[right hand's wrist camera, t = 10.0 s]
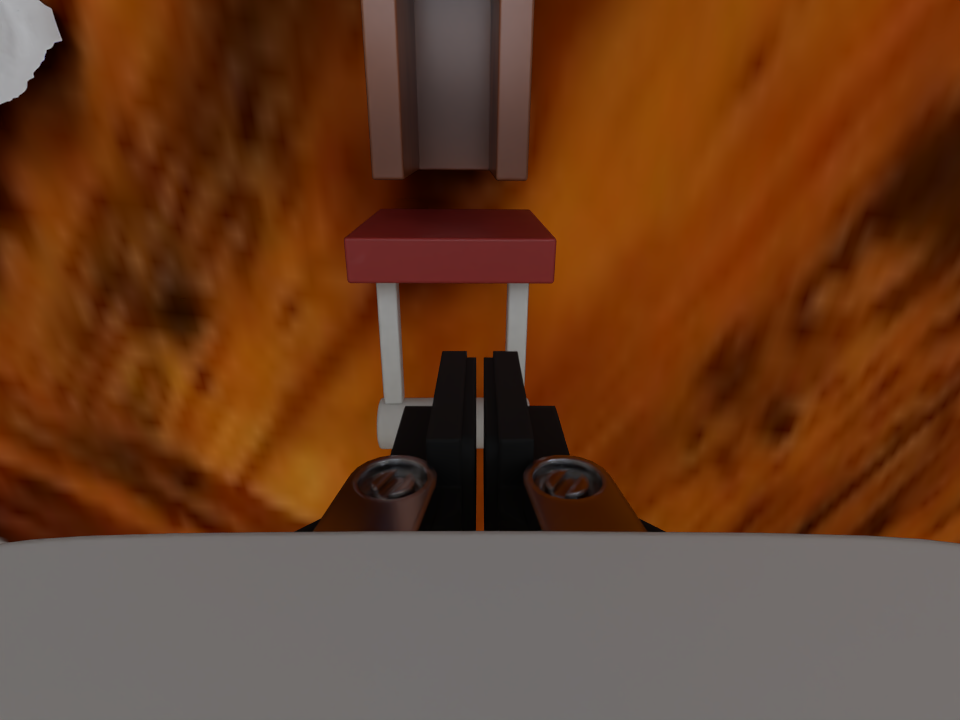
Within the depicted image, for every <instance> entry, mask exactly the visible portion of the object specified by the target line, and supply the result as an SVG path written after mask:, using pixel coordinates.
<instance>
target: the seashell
mask: <svg viewBox="0 0 960 720" xmlns="http://www.w3.org/2000/svg"><path fill="white" fill-rule="evenodd" d="M59 41H62V38H61V36H60V33H59V30H58V27H57V24H56V21H55V18H54V15H53V12H52V9H51V8H49V7H47V6H45V5H44V4H43V3H42V2H40V1H39V0H0V104H2V103H5V102H7V101H11V100H12V98H17V97H19V95H21V94H22V93H23V92H24V91H25V90H26V89H27V81H29V80H30V79H32V78H34V75H33V73H34V71H35V70H36V69H38V67H39V66H40V64H41V62H42V61H43V60H45V54H46V50H48V49H50V48H52V46H53V45H54V43H55V42H59Z"/></svg>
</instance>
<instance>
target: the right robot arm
mask: <svg viewBox="0 0 960 720" xmlns="http://www.w3.org/2000/svg"><path fill="white" fill-rule="evenodd" d="M0 720H960V544H958V543H950V542H942V541H933V540H925V539H911V538H895V537H878V536H856V535H819V534H781V533H701V532H665V531H663V530H661V529H659V528H657V527H655V526H653V525H651V524H649V523H647V522H645V521H643V520H641V519H639V518H638V517H637V515H636V514H635V512H634V511H633V509H632V508H631V506H630V505H629V503H628V502H627V500H626V499H625V497H624V496H623V494H622V493H621V491H620V490H619V488H618V487H617V485H616V484H615V482H614V481H613V479H612V478H611V476H610V475H609V474H608V473H607V472H606V470H605V469H604V468H603V467H601V466H599V465H598V464H596V463H594V462H593V461H590V460H587V459H584V458H581V457H576V456H570V455H569V451H568V448H567V445H566V441H565V438H564V434H563V431H562V428H561V424H560V421H559V417H558V414H557V411H556V408H555V406H528V404H527V399H526V394H525V388H524V383H523V378H522V372H521V367H520V362H519V356H518V352H517V351H493V358H484V531H476V358H467V351H443V352H442V356H441V362H440V367H439V372H438V378H437V383H436V388H435V394H434V399H433V404H432V406H405V408H404V411H403V414H402V417H401V421H400V424H399V428H398V431H397V434H396V438H395V441H394V445H393V448H392V451H391V455H390V456H384V457H379V458H376V459H373V460H370V461H367V462H366V463H364V464H362V465H361V466H359V467H357V468H356V469H355V470H354V472H353V473H352V474H351V475H350V476H349V478H348V479H347V481H346V482H345V484H344V485H343V487H342V488H341V490H340V491H339V493H338V494H337V496H336V497H335V499H334V500H333V502H332V503H331V505H330V506H329V508H328V509H327V511H326V512H325V514H324V515H323V517H322V518H321V519H319V520H317V521H315V522H313V523H311V524H309V525H307V526H305V527H303V528H301V529H299V530H297V531H295V532H262V533H172V534H140V535H107V536H79V537H65V538H51V539H36V540H26V541H18V542H11V543H3V544H0Z"/></svg>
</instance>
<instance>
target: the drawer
mask: <svg viewBox="0 0 960 720" xmlns="http://www.w3.org/2000/svg"><path fill="white" fill-rule="evenodd" d="M534 1H535V0H361V13H362V29H363V44H364V59H365V74H366V90H367V105H368V120H369V135H370V150H371V166H372V178H373V179H375V180H403V179H405V178H406V177H408V176H409V175H411V174H412V173H414V172H416V171H417V170H490V172H491V173H492V174H493V176H494V177H495V178H496V180H498V181H525V180H527V178H528V153H529V127H530V102H531V77H532V52H533V26H534ZM344 246H345V257H346V268H347V280H348V282H349V283H376V288H377V302H378V317H379V332H380V347H381V361H382V376H383V391H384V398H382V399H381V400H380V403H379V406H378V414H377V437H378V443H379V446H380V448H382V449H392V448H393V445H394V441H395V438H396V434H397V431H398V428H399V424H400V421H401V417H402V414H403V411H404V408H405V406H432V404H433V399H434V398H404V377H403V358H402V339H401V319H400V300H399V283H507V314H506V350H505V351H517V352H518V356H519V362H520V367H521V372H522V378H523V383H524V382H525V359H526V336H527V313H528V290H529V283H553V281H554V271H555V254H556V239H555V238H554V237H553V235H552V234H551V233H550V232H549V231H548V230H547V229H546V228H545V226H544V225H543V224H542V223H541V222H540V221H539V220H538V219H537V217H536V216H535V215H534V214H533V213H532V212H531V211H530V210H507V209H380V210H379V211H377V212H376V213H375V214H374V215H372V216H371V217H370V218H369V219H368V220H366V221H365V222H364V223H363V224H361V225H360V226H359V227H358V228H356V229H355V230H354V231H353V232H352V233H350V234H349V235H348V236H347V237H345V239H344ZM526 399H527V398H526ZM527 404H528V406H529V401H528V399H527ZM476 448H484V398H476Z"/></svg>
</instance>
